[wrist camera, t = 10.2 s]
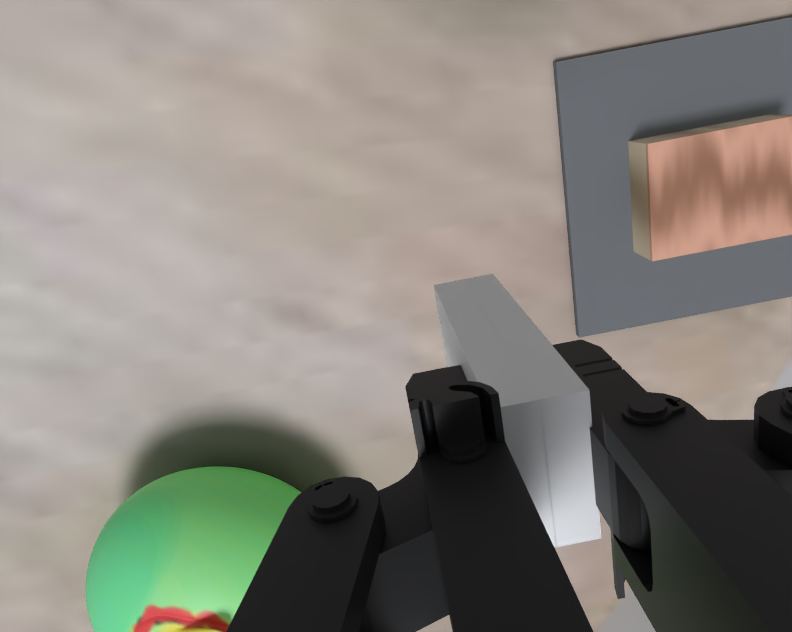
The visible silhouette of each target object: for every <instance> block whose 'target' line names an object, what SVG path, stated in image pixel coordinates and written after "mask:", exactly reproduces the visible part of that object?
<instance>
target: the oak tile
mask: <svg viewBox="0 0 792 632" xmlns="http://www.w3.org/2000/svg"><path fill="white" fill-rule="evenodd" d="M628 148H629V168H630V189H631V209H632V229H633V250H634V252H635V253H637V254H639V255H641V256H643V257H645V258H647V259H649V260H651V261H657V260H662V259H667V258H673V257H678V256H683V255H688V254H693V253H699V252H704V251H709V250H714V249H719V248H724V247H730V246H735V245H740V244H745V243H750V242H756V241H761V240H766V239H771V238H776V237H782V236H787V235H792V115H773V114H768V115H763V116H757V117H752V118H747V119H742V120H737V121H731V122H726V123H721V124H716V125H710V126H705V127H700V128H695V129H689V130H684V131H679V132H674V133H669V134H663V135H658V136H653V137H648V138H642V139H637V140H632V141H628Z"/></svg>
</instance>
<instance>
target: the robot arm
mask: <svg viewBox="0 0 792 632" xmlns="http://www.w3.org/2000/svg"><path fill="white" fill-rule="evenodd" d="M434 290H435V296H436V302H437V308H438V314H439V320H440V326H441V332H442V338H443V344H444V350H445V356H446V363H447V367H446V368H441V369H436V370H431V371H426V372H420V373H415V374H413V375H412V377H411V378H410V380H409V382H408V383H407V385H406V392H407V397H408V403H409V408H410V413H411V418H412V423H413V428H414V434H415V439H416V444H417V449H418V460H417V462H416V464H415V467H414V468H413V469H412V470H411V471H410V473H409V474H408V475H406V476H405V477H404V478H402V479H401V480H400V481H398V482H396V483H394V484H393V485H391V486H389V487H387V488H384V489H382V490H379V491H377V489H376V488H375V487H374V486H373V484H372V483H370V482H368V481H366V480H363V479H361V478H355V477H339V478H334V479H328V480H325V481H322V482H319V483H317V484H315V485H313V486H310V487H309V488H308V489H306V490H305V491H303V492H302V493H301V494H299V495H298V496H297V497H296V498H295V499H294V501H293V502H292V503H291V505H290V506H289V507H288V509H287V511H286V513H285V515H284V517H283V519H282V521H281V523H280V525H279V527H278V529H277V531H276V533H275V535H274V537H273V539H272V541H271V543H270V545H269V547H268V549H267V551H266V553H265V555H264V557H263V559H262V561H261V563H260V565H259V567H258V569H257V571H256V573H255V575H254V577H253V579H252V581H251V583H250V585H249V587H248V589H247V591H246V593H245V595H244V597H243V599H242V601H241V603H240V605H239V607H238V609H237V611H236V613H235V615H234V617H233V619H232V621H231V623H230V625H229V627H228V629H227V631H226V632H416V631H418V630H420V629H422V628H424V627H426V626H428V625H430V624H432V623H433V622H435V621H437V620H439V619H441V618H443V617H445V616H447V615H450V620H451V625H452V630H453V632H593V630H592V628H591V626H590V624H589V621H588V619H587V617H586V615H585V613H584V611H583V608H582V606H581V604H580V602H579V600H578V598H577V595H576V593H575V591H574V589H573V587H572V585H571V583H570V580H569V578H568V576H567V574H566V572H565V570H564V567H563V565H562V563H561V561H560V559H559V557H558V554H557V552H556V550H555V548H554V547H559V546H564V545H569V544H574V543H580V542H585V541H590V540H595V539H600V538H601V528H600V515H599V510H600V512H601V514H602V515H603V517H604V519H605V520H606V522H607V524H608V525H609V527H610V529H611V543H612V556H613V570H614V584H615V590H616V594H617V598H618V599H620V598H625V592H624V582H625V579H626V580H627V582H628V584H629V585H630V587H631V589H632V591H633V592H634V594H635V596H636V598H637V599H638V601H639V603H640V605H641V606H642V608H643V610H644V611H645V613H646V615H647V617H648V619H649V620H650V622H651V624H652V626H653V627H654V629H655V631H656V632H792V387H787V388H783V389H778V390H774V391H769V392H767V393H765V394H764V395H762V396H760V397H759V398H758V399H757V401H756V403H755V406H754V420H707V419H706V418H705V417H704V416H703V415H702V414H700V413H699V412H698V411H697V410H696V409H695V408H694V407H693V406H691V405H690V404H688V403H687V402H685V401H683V400H682V399H680V398H678V397H674V396H670V395H667V394H663V393H651V392H646V391H645V390H644V389H643V388H642V387H641V386H640V385H639V384H638V383H637V382H636V381H635V380H634V379H633V378H632V377H631V376H630V375H629V374H628V373H627V372H626V371H625V370H624V369H623V370H622V368H621V366H620V365H619V364H618V363H617V362H616V361H615V360H612V357H611V356H609V355H608V354H607V353H606V352H605V351H604V350H603V349H602V348H601V347H599V346H597V345H594V344H592V343H589V342H586V341H584V340H576V341H571V342H566V343H561V344H556V345H552V344H551V343H550V342H549V341H548V340H547V338H546V337H545V336H544V335H543V334H542V332H541V331H540V330H539V329H538V328H537V326H536V325H535V324H534V323H533V322H532V320H531V319H530V318H529V317H528V316H527V314H526V313H525V312H524V311H523V310H522V308H521V307H520V306H519V305H518V304H517V302H516V301H515V300H514V299H513V298H512V296H511V295H510V294H509V293H508V292H507V290H506V289H505V288H504V287H503V286H502V284H501V283H500V282H499V281H498V280H497V278H496V277H495V276H494V275H493V274H490V275H484V276H479V277H474V278H469V279H464V280H458V281H453V282H448V283H443V284H438V285H434Z"/></svg>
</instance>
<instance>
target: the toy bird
mask: <svg viewBox="0 0 792 632" xmlns="http://www.w3.org/2000/svg"><path fill="white" fill-rule="evenodd" d="M301 493H302V492H300V491H299V490H297V489H296V488H294V487H292V486H291V485H289V484H287V483H285V482H283V481H281V480H279V479H277V478H274V477H272V476H269V475H266V474H263V473H260V472H257V471H253V470H248V469H243V468H236V467H200V468H192V469H187V470H182V471H178V472H175V473H172V474H169V475H166V476H163V477H161V478H159V479H157V480H155V481H153V482H151V483H149V484H147V485H145V486H144V487H142V488H141V489H139V490H138V491H136V492H135V493H134V494H133V495H131V496H130V497H129V498H128V499H127V500H126V501H124V502H123V503H122V504H121V505H120V506H119V508H118V509H117V510H116V511H115V512H114V513H113V515H112V516H111V517H110V518H109V520H108V521H107V523H106V524H105V526H104V528H103V529H102V531H101V533H100V535H99V537H98V539H97V541H96V543H95V546H94V548H93V551H92V554H91V557H90V561H89V565H88V570H87V576H86V604H87V610H88V614H89V618H90V621H91V624H92V627H93V629H94V632H226V631H227V629H228V627H229V625H230V623H231V621H232V619H233V617H234V615H235V613H236V611H237V609H238V607H239V605H240V603H241V601H242V599H243V597H244V595H245V593H246V591H247V589H248V587H249V585H250V583H251V581H252V579H253V577H254V575H255V573H256V571H257V569H258V567H259V565H260V563H261V561H262V559H263V557H264V555H265V553H266V551H267V549H268V547H269V545H270V543H271V541H272V539H273V537H274V535H275V533H276V531H277V529H278V527H279V525H280V523H281V521H282V519H283V517H284V515H285V513H286V511H287V509H288V507H289V506H290V505H291V503H292V502H293V501H294V499H295V498H296V497H297V496H298V495H299V494H301Z"/></svg>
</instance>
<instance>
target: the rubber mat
mask: <svg viewBox="0 0 792 632" xmlns="http://www.w3.org/2000/svg"><path fill="white" fill-rule="evenodd" d="M553 66H554V78H555V89H556V101H557V113H558V124H559V136H560V148H561V160H562V171H563V183H564V195H565V206H566V218H567V230H568V242H569V253H570V265H571V277H572V288H573V300H574V312H575V324H576V335H577V336H578V337H584V336H589V335H594V334H599V333H605V332H610V331H615V330H620V329H625V328H630V327H636V326H641V325H646V324H651V323H656V322H661V321H667V320H672V319H677V318H682V317H687V316H693V315H698V314H703V313H708V312H713V311H718V310H724V309H729V308H734V307H739V306H744V305H749V304H755V303H760V302H765V301H770V300H775V299H780V298H786V297H791V296H792V235H787V236H782V237H776V238H771V239H766V240H761V241H756V242H750V243H745V244H740V245H735V246H730V247H724V248H719V249H714V250H709V251H704V252H699V253H693V254H688V255H683V256H678V257H673V258H667V259H662V260H657V261H651V260H649V259H647V258H645V257H643V256H641V255H639V254H637V253H635V252H634V250H633V229H632V209H631V189H630V168H629V148H628V141H632V140H637V139H642V138H648V137H653V136H658V135H663V134H669V133H674V132H679V131H684V130H689V129H695V128H700V127H705V126H710V125H716V124H721V123H726V122H731V121H737V120H742V119H747V118H752V117H757V116H763V115H768V114H773V115H792V17H789V18H784V19H779V20H773V21H768V22H763V23H758V24H752V25H747V26H742V27H737V28H731V29H726V30H721V31H716V32H710V33H705V34H700V35H695V36H689V37H684V38H679V39H674V40H668V41H663V42H658V43H653V44H647V45H642V46H637V47H632V48H626V49H621V50H616V51H610V52H605V53H600V54H595V55H589V56H584V57H579V58H574V59H568V60H563V61H558V62H553Z"/></svg>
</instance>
